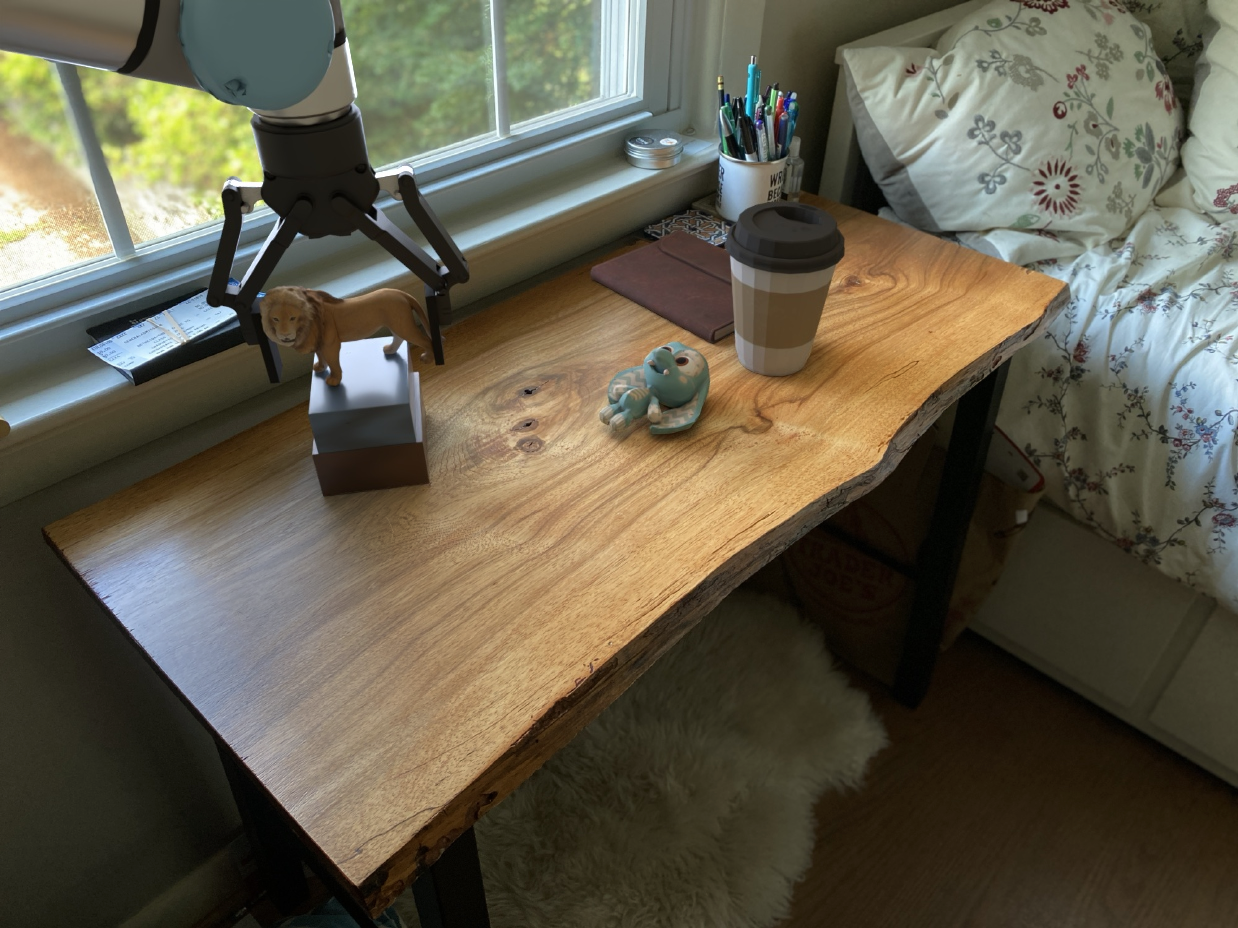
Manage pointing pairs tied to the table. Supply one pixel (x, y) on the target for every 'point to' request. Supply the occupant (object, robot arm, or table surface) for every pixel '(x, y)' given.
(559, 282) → the table surface
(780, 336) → the coffee cup
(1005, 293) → the table surface
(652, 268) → the notebook
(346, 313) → the lion figurine
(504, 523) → the table surface
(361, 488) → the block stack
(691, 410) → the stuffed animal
